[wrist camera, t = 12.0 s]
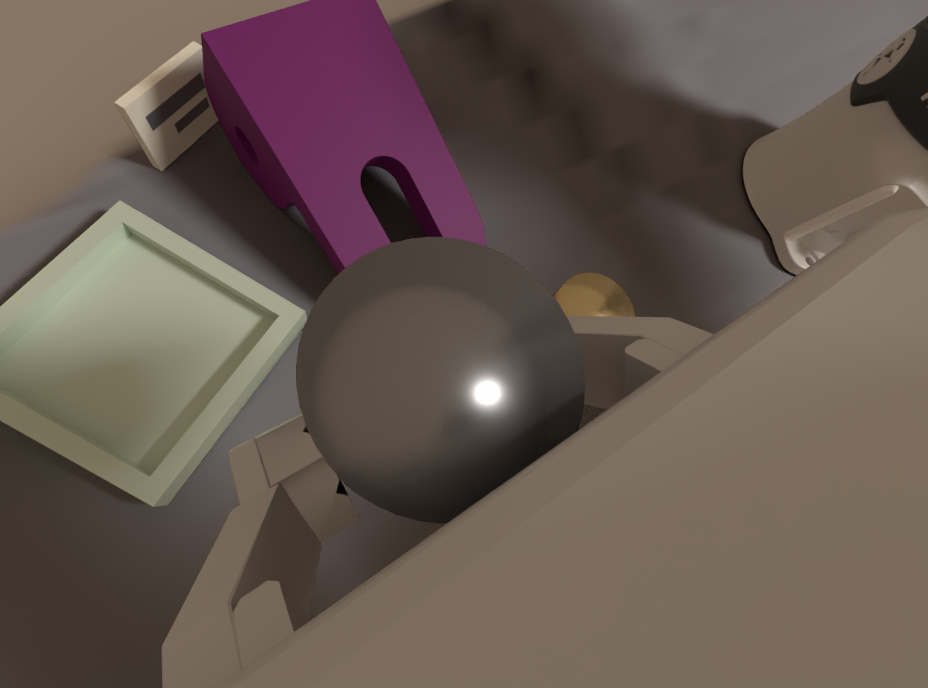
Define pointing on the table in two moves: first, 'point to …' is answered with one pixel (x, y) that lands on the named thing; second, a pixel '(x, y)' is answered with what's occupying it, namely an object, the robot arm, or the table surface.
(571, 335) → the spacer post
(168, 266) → the parts tray
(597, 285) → the gold metallic cylinder
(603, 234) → the table surface
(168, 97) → the label tile
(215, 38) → the mounting bracket
